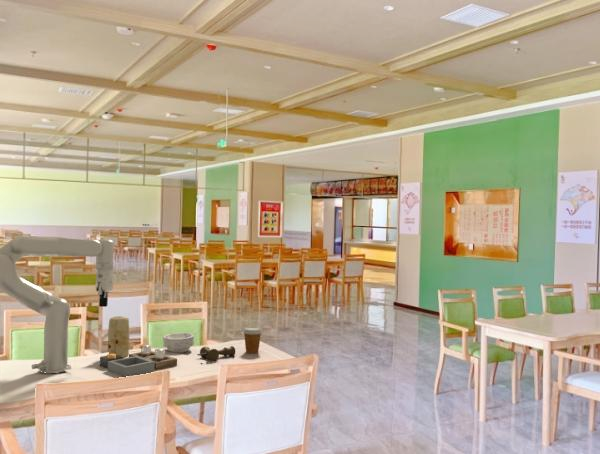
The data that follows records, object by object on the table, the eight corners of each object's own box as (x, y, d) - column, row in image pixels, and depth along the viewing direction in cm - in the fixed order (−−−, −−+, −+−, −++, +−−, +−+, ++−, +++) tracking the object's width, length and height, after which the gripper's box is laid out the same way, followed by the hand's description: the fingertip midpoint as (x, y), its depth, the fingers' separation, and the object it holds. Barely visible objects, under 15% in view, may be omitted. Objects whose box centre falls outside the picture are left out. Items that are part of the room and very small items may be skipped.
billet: (157, 366, 243) (158, 351, 243) (152, 364, 247) (153, 349, 247) (166, 365, 246) (167, 349, 246) (161, 363, 250) (162, 348, 250)
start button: (109, 366, 241) (109, 356, 241) (105, 364, 243) (105, 354, 243) (117, 364, 244) (117, 354, 244) (113, 363, 246) (113, 353, 246)
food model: (127, 356, 266) (128, 315, 266) (130, 359, 260) (131, 317, 260) (106, 358, 261) (107, 316, 261) (109, 361, 255) (109, 318, 255)
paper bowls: (157, 350, 279) (157, 335, 279) (183, 346, 289) (183, 331, 289) (173, 356, 268) (173, 340, 268) (199, 351, 279) (199, 336, 279)
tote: (125, 379, 226) (125, 367, 226) (107, 372, 236) (107, 361, 236) (154, 373, 237) (154, 361, 237) (136, 367, 246) (136, 355, 246)
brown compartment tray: (177, 367, 247) (177, 358, 247) (156, 372, 239) (156, 362, 239) (149, 358, 261) (149, 350, 261) (128, 362, 253) (129, 354, 253)
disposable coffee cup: (240, 350, 282) (240, 327, 282) (257, 349, 287) (258, 326, 286) (246, 354, 274) (246, 330, 274) (264, 353, 278) (264, 329, 278)
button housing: (107, 371, 238) (108, 359, 238) (99, 368, 243) (100, 356, 243) (122, 368, 244) (122, 357, 244) (114, 365, 248) (114, 354, 248)
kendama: (238, 358, 268) (201, 363, 256) (228, 355, 276) (192, 359, 264) (238, 346, 268) (202, 350, 256) (228, 343, 276) (192, 346, 264)
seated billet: (144, 362, 251) (144, 347, 251) (139, 360, 254) (139, 345, 253) (152, 360, 254) (153, 345, 254) (147, 359, 257) (147, 344, 257)
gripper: (106, 267, 244) (105, 309, 244) (118, 265, 259) (117, 304, 259) (89, 267, 244) (88, 308, 244) (102, 265, 259) (101, 303, 259)
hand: (103, 306), depth 251 cm, fingers closed
